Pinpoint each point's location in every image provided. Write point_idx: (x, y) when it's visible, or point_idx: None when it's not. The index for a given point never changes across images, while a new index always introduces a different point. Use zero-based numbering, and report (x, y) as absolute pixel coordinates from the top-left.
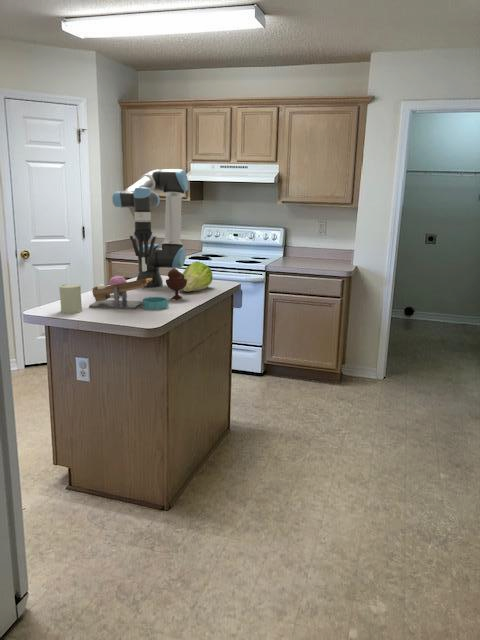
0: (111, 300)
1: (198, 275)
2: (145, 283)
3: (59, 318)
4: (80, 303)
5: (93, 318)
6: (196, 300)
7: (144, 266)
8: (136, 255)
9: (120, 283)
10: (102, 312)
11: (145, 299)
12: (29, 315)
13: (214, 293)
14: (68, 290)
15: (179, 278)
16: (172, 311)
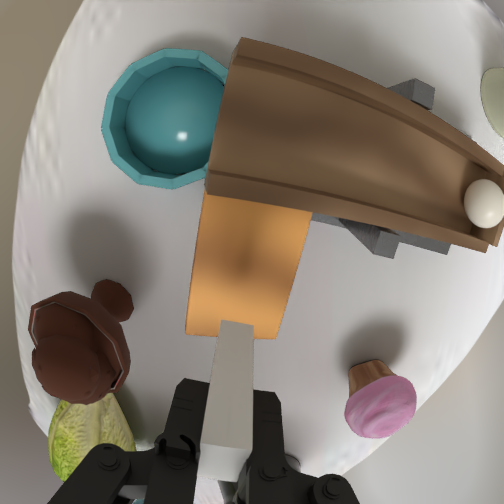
0: (407, 234)
1: (57, 429)
2: (215, 170)
3: (497, 17)
4: (501, 83)
5: None
6: (40, 260)
7: (221, 354)
8: (337, 481)
9: (376, 387)
10: (412, 41)
11: None
12: None
13: None
14: None
15: (36, 319)
16: (102, 45)
